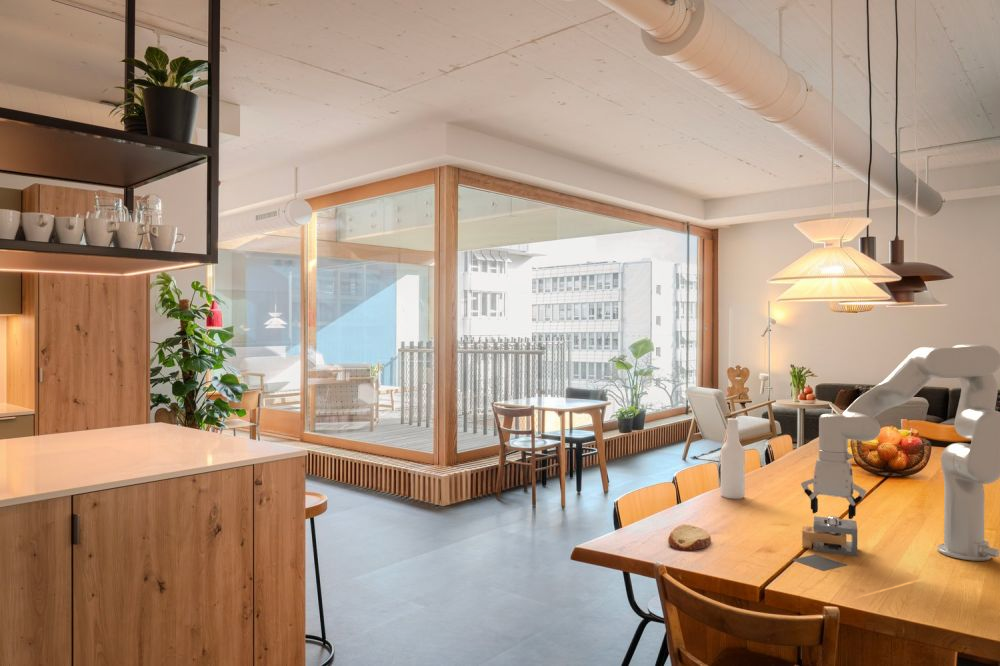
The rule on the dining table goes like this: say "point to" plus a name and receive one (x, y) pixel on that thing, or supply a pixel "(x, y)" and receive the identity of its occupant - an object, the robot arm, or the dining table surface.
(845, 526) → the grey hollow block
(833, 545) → the pin
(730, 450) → the alcohol
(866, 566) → the dining table surface
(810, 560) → the mat
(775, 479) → the dining table surface
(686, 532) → the slice of bread
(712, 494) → the dining table surface
